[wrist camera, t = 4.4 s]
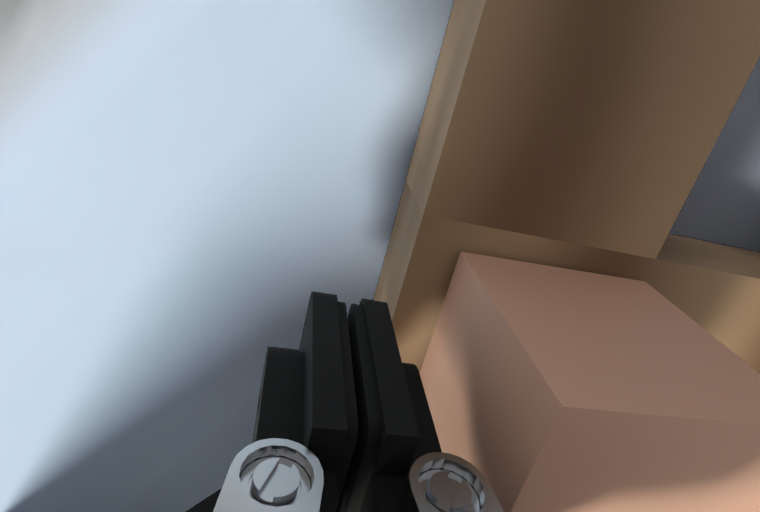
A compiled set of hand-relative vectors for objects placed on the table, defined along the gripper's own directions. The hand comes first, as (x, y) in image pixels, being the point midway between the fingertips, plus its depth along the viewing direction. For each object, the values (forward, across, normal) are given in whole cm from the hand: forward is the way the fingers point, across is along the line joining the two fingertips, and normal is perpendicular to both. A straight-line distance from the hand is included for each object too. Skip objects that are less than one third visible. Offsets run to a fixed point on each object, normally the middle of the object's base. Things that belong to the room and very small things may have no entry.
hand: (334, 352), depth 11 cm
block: (+1, -5, 0) cm, 5 cm away
